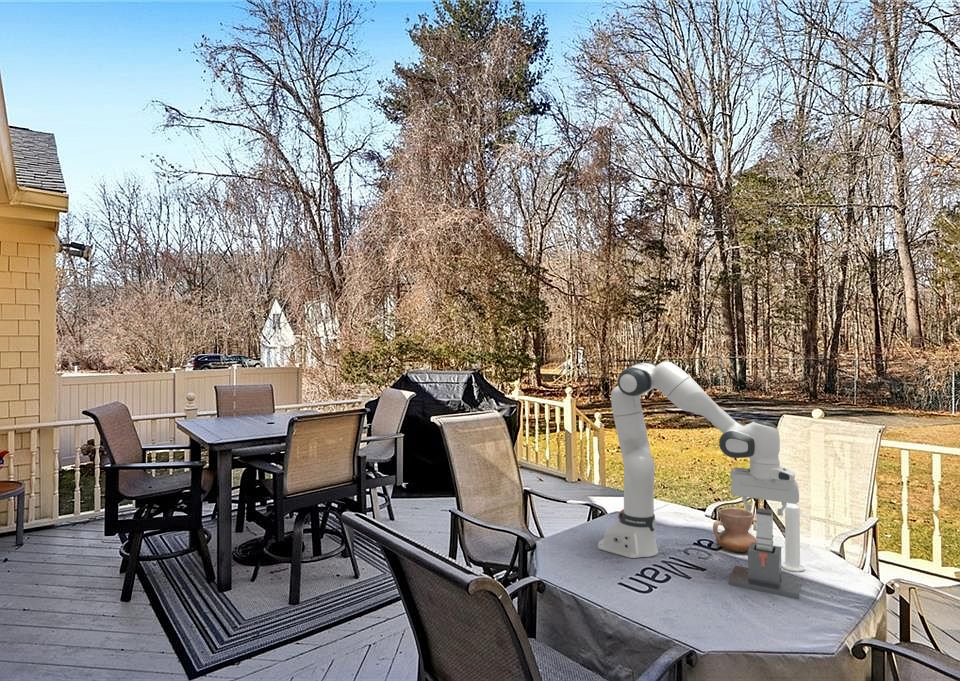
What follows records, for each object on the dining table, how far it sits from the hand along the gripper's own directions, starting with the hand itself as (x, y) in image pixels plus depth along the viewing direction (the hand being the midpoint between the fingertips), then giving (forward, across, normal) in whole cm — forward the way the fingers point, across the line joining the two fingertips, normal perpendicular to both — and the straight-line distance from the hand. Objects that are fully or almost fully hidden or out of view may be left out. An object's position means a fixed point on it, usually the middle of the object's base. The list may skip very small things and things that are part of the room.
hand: (764, 512), depth 187 cm
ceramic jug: (+24, -12, +29) cm, 39 cm away
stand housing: (+23, 0, 0) cm, 23 cm away
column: (+15, 0, 0) cm, 15 cm away
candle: (+23, +8, +19) cm, 31 cm away
